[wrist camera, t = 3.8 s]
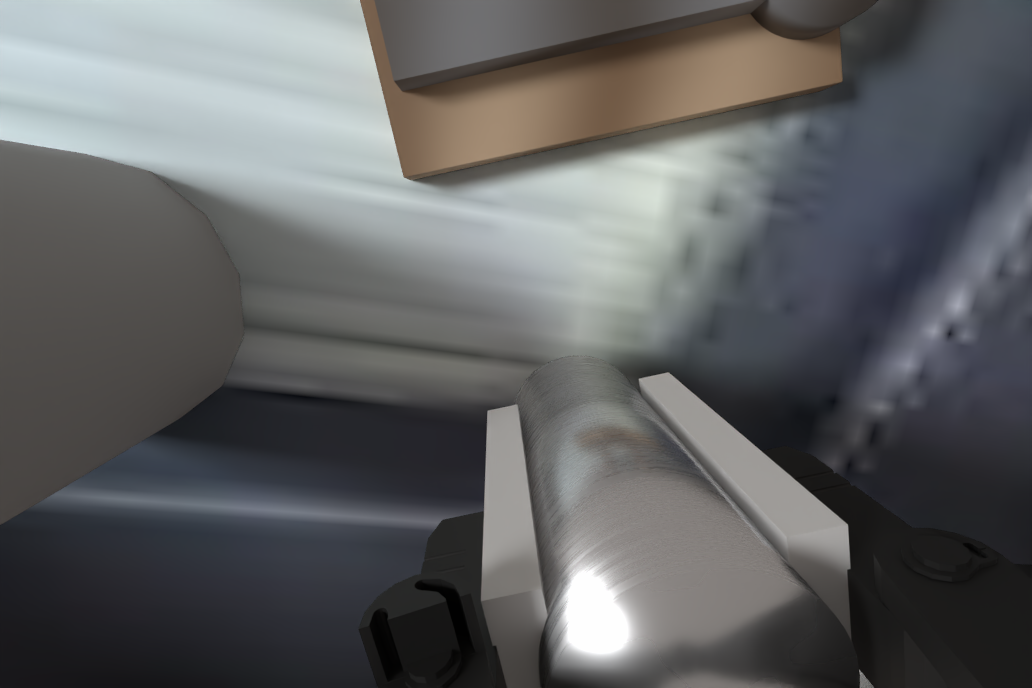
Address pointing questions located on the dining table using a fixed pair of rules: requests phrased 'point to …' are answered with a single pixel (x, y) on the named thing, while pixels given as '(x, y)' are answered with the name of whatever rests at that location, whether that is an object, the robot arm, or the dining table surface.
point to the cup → (101, 315)
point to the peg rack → (585, 68)
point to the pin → (656, 555)
